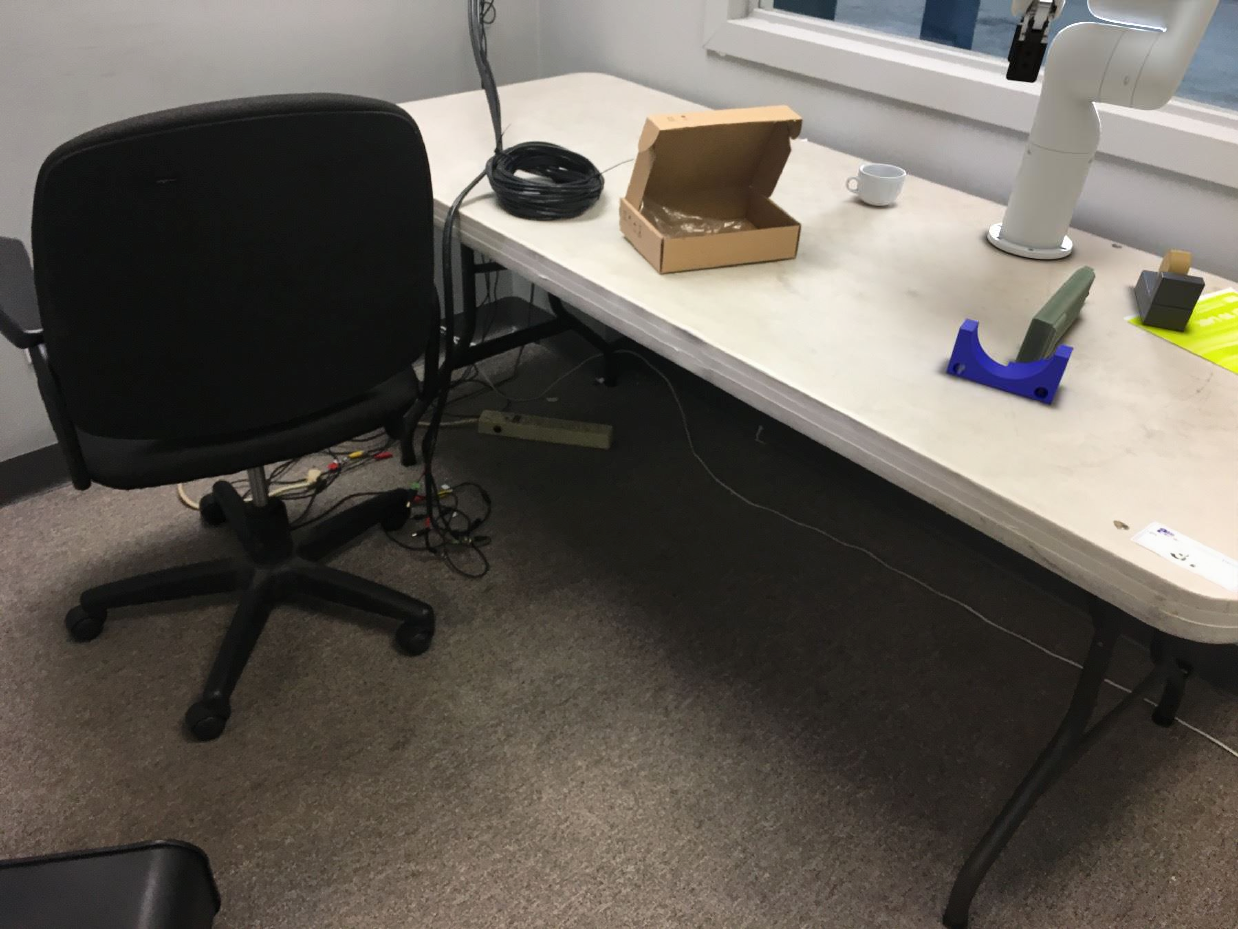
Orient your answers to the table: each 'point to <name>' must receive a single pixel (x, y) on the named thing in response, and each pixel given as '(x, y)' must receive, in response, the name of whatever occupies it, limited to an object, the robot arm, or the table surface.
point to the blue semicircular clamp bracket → (1007, 367)
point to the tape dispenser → (1169, 292)
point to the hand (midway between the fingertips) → (1020, 71)
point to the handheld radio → (1056, 317)
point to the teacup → (878, 183)
